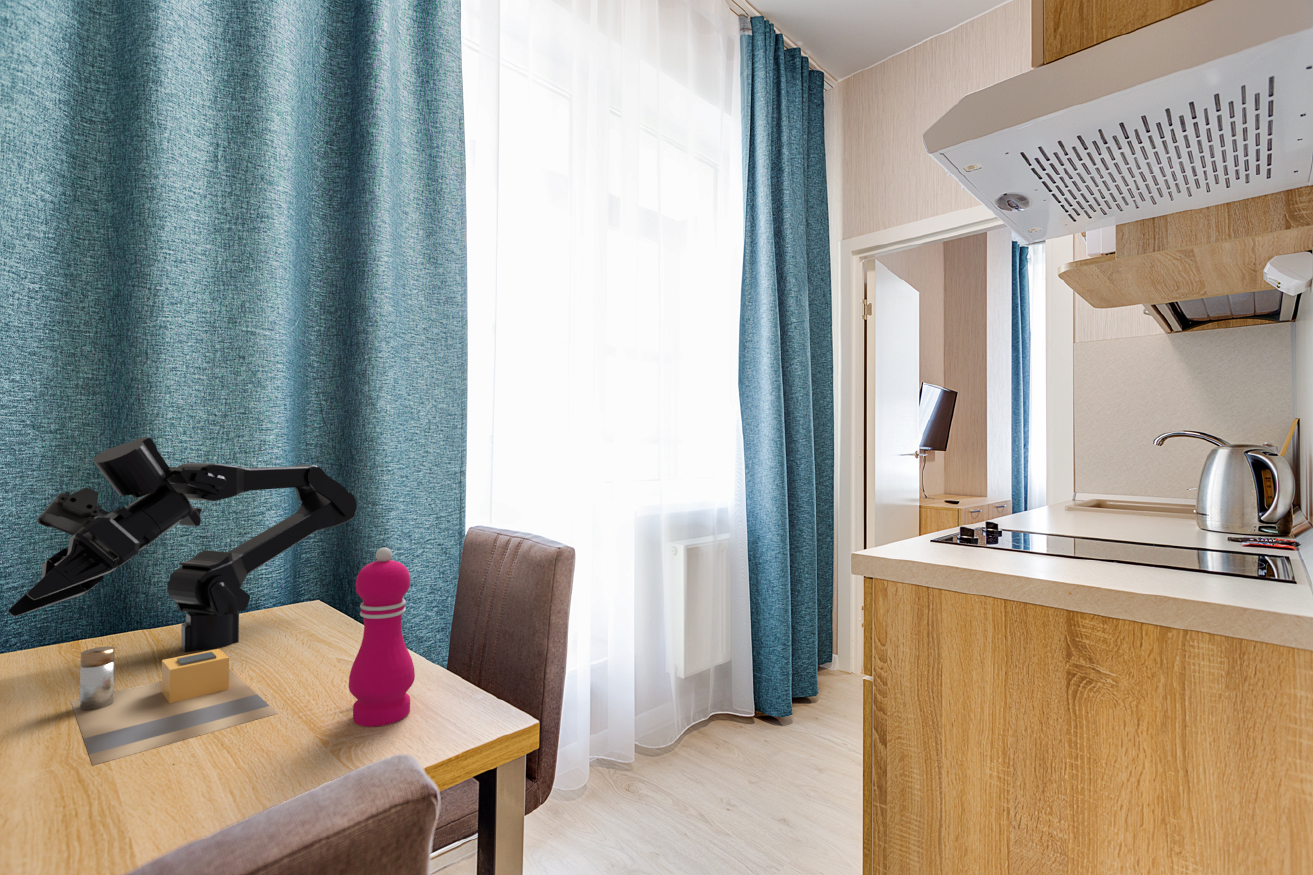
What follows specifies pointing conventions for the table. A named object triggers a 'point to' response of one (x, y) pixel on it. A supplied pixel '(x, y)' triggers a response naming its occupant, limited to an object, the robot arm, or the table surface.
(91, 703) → the metal peg
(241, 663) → the table surface
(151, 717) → the beige flat piece
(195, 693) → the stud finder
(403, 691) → the pepper mill
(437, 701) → the table surface
